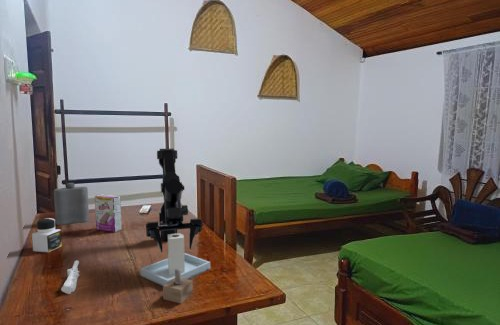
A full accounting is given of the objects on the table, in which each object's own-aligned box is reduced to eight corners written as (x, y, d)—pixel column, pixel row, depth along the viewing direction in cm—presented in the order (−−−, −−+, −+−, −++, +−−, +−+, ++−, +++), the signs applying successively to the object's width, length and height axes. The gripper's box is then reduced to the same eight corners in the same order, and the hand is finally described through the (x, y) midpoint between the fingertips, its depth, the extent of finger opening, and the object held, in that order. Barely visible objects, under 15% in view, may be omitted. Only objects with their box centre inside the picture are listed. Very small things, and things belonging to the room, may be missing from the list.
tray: (183, 258, 124) (183, 252, 123) (210, 269, 115) (210, 262, 115) (140, 275, 110) (140, 268, 109) (167, 288, 101) (167, 280, 101)
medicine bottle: (48, 252, 129) (46, 222, 128) (32, 251, 131) (30, 221, 129) (62, 246, 136) (60, 217, 135) (47, 245, 137) (45, 216, 136)
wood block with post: (175, 289, 100) (175, 264, 100) (192, 293, 98) (192, 267, 97) (163, 299, 95) (162, 272, 94) (181, 303, 93) (180, 276, 92)
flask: (88, 218, 176) (86, 181, 174) (89, 221, 171) (87, 183, 169) (55, 223, 168) (53, 183, 166) (55, 226, 163) (53, 185, 161)
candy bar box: (95, 230, 157) (93, 195, 155) (103, 227, 162) (101, 193, 160) (114, 232, 153) (113, 197, 152) (122, 229, 158) (121, 195, 156)
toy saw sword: (84, 265, 119) (75, 294, 98) (71, 266, 117) (60, 296, 97) (83, 258, 118) (74, 285, 98) (71, 259, 117) (59, 288, 97)
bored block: (168, 268, 114) (167, 234, 113) (183, 266, 115) (182, 232, 114) (169, 274, 109) (168, 238, 108) (184, 272, 111) (184, 237, 109)
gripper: (145, 198, 111) (146, 242, 102) (201, 195, 116) (207, 236, 107) (146, 215, 119) (146, 257, 110) (198, 212, 125) (203, 251, 115)
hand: (176, 250), depth 110 cm, fingers open, 9 cm apart
